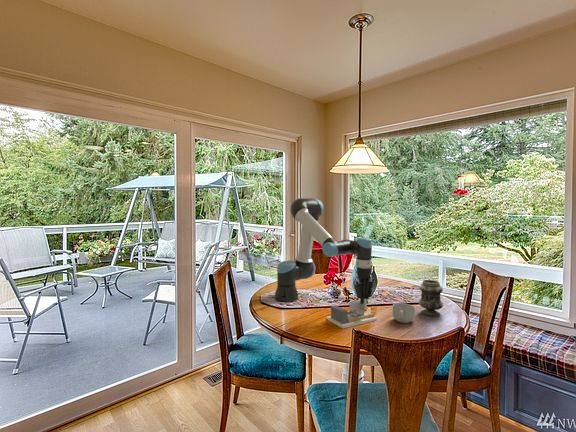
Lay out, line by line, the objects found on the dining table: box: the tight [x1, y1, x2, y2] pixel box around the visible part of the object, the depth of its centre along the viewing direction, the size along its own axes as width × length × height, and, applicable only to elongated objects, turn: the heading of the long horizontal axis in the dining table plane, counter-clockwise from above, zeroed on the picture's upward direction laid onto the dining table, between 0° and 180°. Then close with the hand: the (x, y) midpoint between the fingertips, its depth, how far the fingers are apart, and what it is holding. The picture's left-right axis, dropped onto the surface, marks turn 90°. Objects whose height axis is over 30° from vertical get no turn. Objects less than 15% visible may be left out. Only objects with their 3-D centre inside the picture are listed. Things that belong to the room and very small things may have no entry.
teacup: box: [392, 302, 416, 324], centre depth 157 cm, size 14×11×8 cm
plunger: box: [348, 299, 368, 317], centre depth 160 cm, size 10×5×7 cm, turn 28°
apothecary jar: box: [418, 279, 444, 318], centre depth 169 cm, size 12×12×18 cm
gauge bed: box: [325, 304, 377, 329], centre depth 161 cm, size 14×22×7 cm, turn 118°
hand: (363, 310), depth 165 cm, fingers closed
